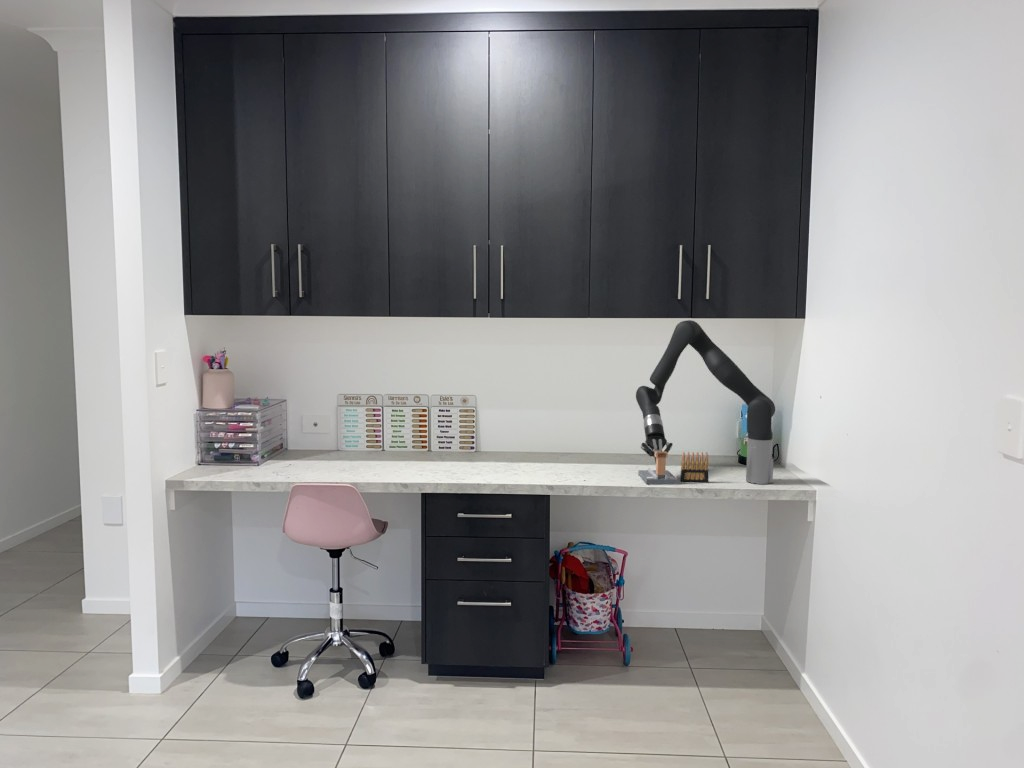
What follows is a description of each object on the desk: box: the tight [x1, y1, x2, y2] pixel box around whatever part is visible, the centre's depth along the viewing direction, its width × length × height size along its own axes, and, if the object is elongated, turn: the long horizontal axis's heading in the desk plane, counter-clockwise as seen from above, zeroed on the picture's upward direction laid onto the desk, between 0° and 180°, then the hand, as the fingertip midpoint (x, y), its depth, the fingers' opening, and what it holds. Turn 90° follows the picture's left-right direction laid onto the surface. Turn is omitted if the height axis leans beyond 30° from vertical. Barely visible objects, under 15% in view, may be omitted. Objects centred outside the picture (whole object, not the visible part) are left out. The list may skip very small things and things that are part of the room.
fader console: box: [638, 467, 679, 485], centre depth 315 cm, size 12×16×3 cm
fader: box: [655, 450, 669, 478], centre depth 309 cm, size 4×3×10 cm
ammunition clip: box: [679, 451, 709, 484], centre depth 311 cm, size 11×2×12 cm, turn 86°
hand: (659, 464), depth 311 cm, fingers closed
